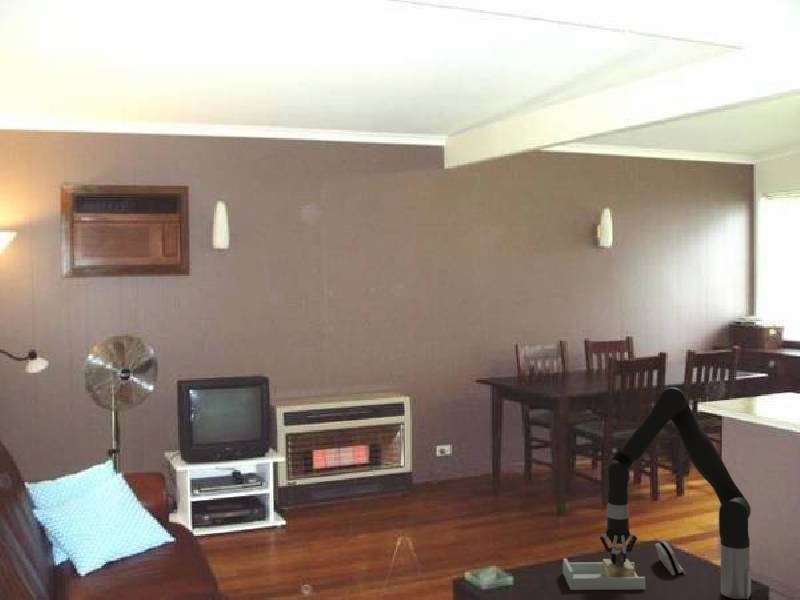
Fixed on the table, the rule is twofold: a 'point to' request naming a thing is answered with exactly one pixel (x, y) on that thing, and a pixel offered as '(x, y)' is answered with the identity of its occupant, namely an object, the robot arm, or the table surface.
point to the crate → (618, 567)
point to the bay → (597, 577)
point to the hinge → (668, 558)
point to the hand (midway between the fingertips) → (618, 562)
